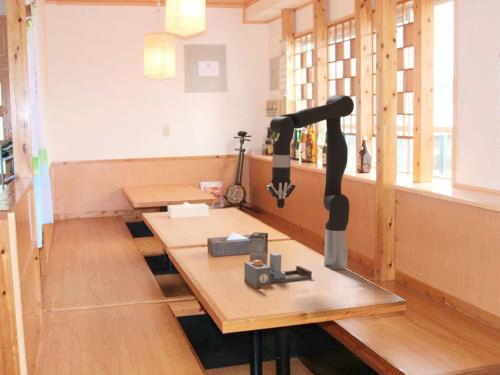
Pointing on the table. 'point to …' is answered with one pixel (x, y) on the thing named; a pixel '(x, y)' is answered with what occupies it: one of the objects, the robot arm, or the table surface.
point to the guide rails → (289, 278)
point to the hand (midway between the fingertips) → (280, 207)
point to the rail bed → (288, 276)
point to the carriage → (276, 267)
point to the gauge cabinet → (257, 273)
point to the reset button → (257, 263)
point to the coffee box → (259, 247)
